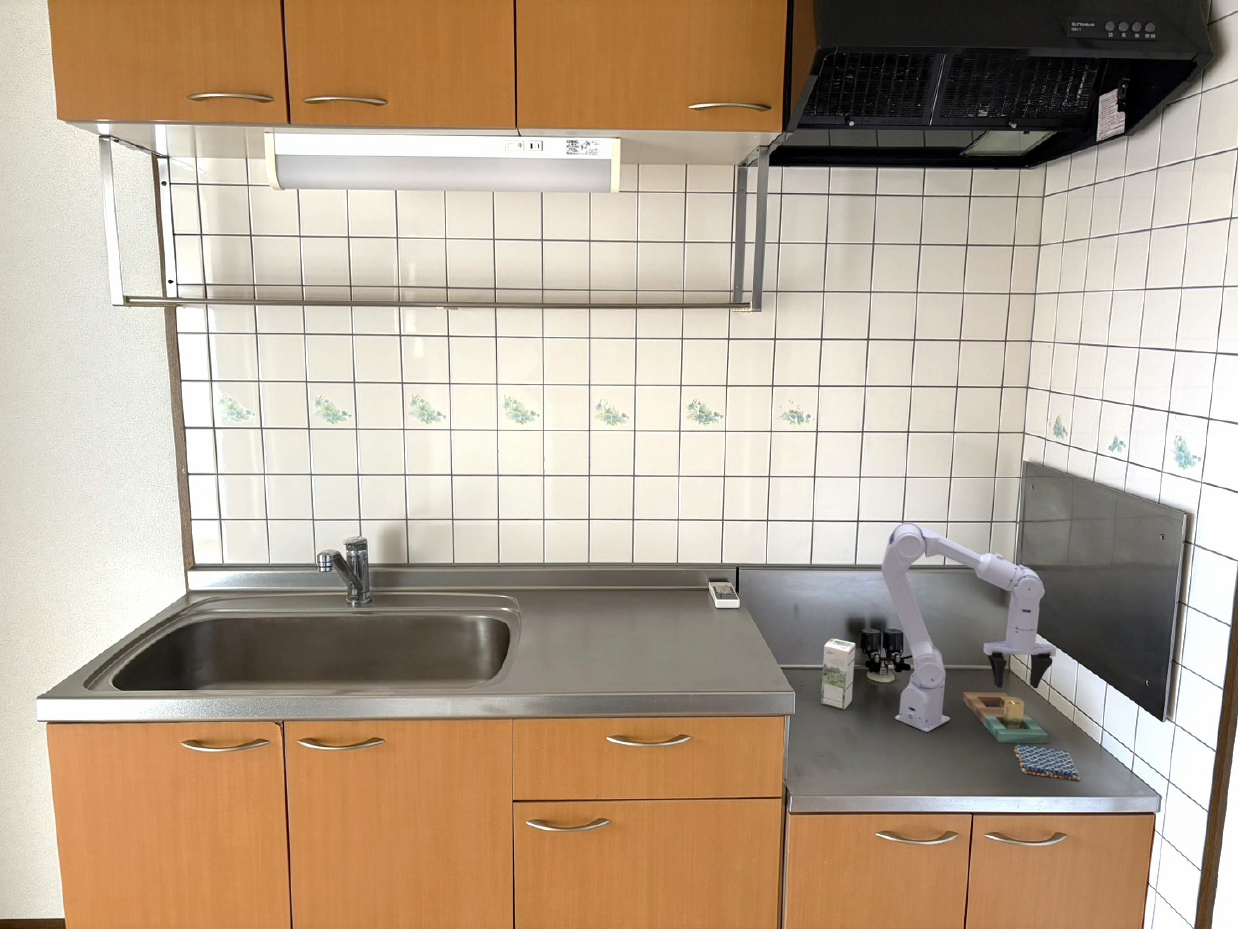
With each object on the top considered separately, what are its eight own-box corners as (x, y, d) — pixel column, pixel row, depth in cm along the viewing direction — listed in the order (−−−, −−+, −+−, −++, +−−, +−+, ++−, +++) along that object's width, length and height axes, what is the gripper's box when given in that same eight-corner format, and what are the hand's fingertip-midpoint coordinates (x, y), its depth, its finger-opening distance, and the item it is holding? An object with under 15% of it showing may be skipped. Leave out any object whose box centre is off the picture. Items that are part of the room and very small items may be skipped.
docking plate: (1046, 743, 179) (1047, 734, 179) (999, 742, 179) (1000, 733, 179) (1005, 700, 199) (1005, 692, 198) (962, 700, 199) (963, 692, 199)
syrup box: (852, 701, 197) (856, 642, 195) (844, 711, 192) (848, 650, 190) (828, 695, 200) (832, 636, 198) (819, 704, 195) (823, 644, 193)
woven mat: (1067, 757, 175) (1068, 748, 174) (1080, 784, 165) (1082, 775, 164) (1012, 750, 177) (1013, 741, 177) (1022, 776, 167) (1023, 767, 167)
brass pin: (1016, 737, 182) (1019, 706, 181) (998, 730, 185) (1001, 700, 183) (1024, 731, 184) (1027, 701, 183) (1007, 725, 187) (1010, 695, 186)
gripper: (1047, 619, 184) (1040, 678, 186) (980, 618, 184) (974, 677, 187) (1063, 632, 177) (1056, 693, 179) (993, 630, 177) (987, 691, 180)
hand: (1015, 686), depth 183 cm, fingers open, 7 cm apart
